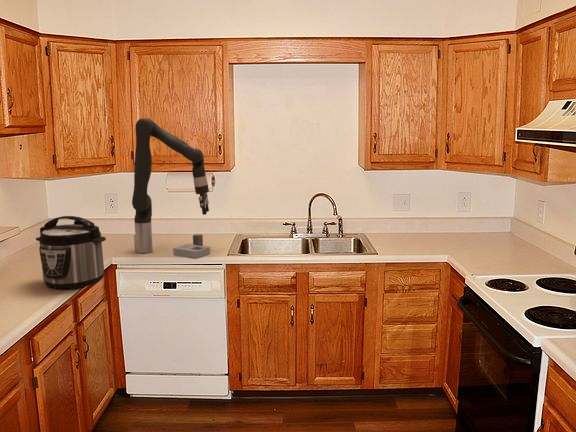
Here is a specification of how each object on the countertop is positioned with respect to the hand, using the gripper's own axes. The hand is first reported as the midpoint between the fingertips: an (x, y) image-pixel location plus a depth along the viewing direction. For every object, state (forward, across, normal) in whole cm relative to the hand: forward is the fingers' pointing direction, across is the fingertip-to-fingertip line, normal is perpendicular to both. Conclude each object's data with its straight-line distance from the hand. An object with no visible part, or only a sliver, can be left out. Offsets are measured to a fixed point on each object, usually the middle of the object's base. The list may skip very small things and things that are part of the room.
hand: (206, 213), depth 317 cm
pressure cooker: (+15, +58, -56) cm, 82 cm away
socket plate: (+21, +6, -11) cm, 24 cm away
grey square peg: (+21, -8, -10) cm, 25 cm away
